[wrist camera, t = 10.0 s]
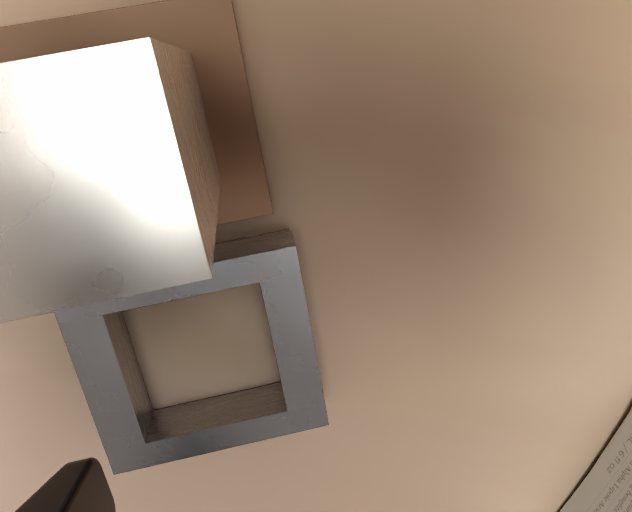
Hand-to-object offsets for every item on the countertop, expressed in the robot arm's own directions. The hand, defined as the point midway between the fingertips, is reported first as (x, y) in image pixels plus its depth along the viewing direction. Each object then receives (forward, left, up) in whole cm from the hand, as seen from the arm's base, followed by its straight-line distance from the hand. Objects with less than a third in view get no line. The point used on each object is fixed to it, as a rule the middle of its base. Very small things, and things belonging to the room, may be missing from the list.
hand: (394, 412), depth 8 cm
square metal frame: (-4, +5, -12) cm, 13 cm away
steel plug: (+4, +5, -11) cm, 13 cm away
